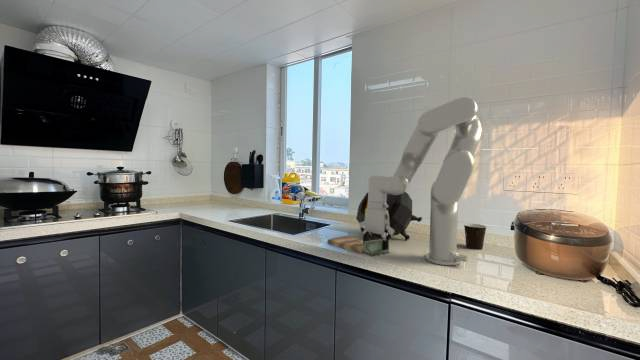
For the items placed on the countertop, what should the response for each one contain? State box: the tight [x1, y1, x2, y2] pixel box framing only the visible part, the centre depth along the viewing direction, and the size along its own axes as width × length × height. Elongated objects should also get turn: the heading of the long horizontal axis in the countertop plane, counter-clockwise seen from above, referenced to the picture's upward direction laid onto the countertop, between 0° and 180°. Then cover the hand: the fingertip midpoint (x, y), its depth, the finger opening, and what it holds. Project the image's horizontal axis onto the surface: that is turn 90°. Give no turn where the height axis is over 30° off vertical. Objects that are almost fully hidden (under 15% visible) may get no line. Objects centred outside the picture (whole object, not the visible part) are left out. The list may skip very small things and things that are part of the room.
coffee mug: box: [464, 223, 487, 251], centre depth 125 cm, size 12×9×10 cm
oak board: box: [327, 235, 365, 255], centre depth 127 cm, size 20×12×2 cm, turn 41°
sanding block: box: [363, 238, 390, 257], centre depth 117 cm, size 5×9×5 cm, turn 119°
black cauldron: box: [355, 191, 423, 241], centre depth 142 cm, size 28×28×24 cm
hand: (375, 246), depth 117 cm, fingers open, 9 cm apart
